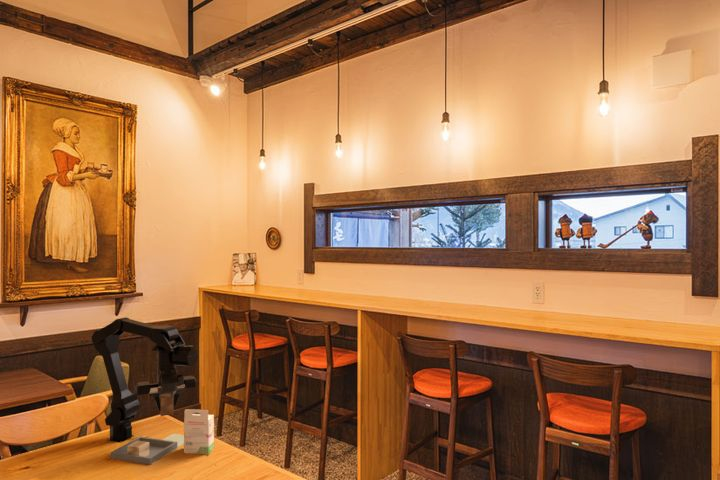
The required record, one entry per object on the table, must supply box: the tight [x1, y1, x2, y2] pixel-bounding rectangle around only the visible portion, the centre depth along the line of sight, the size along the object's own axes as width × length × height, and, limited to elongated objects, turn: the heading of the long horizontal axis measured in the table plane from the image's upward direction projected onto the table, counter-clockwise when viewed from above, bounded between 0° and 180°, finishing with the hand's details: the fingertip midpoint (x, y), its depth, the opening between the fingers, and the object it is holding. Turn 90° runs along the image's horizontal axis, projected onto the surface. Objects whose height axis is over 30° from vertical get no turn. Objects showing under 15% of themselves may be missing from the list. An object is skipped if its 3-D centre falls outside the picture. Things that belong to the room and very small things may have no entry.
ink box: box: [183, 408, 215, 456], centre depth 160 cm, size 9×5×15 cm, turn 84°
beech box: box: [127, 441, 149, 457], centre depth 155 cm, size 4×4×4 cm
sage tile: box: [162, 433, 184, 448], centre depth 168 cm, size 9×9×1 cm
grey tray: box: [110, 436, 178, 466], centre depth 158 cm, size 15×13×2 cm
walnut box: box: [158, 392, 175, 417], centre depth 165 cm, size 4×4×6 cm
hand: (166, 410), depth 165 cm, fingers closed on walnut box, 4 cm apart
